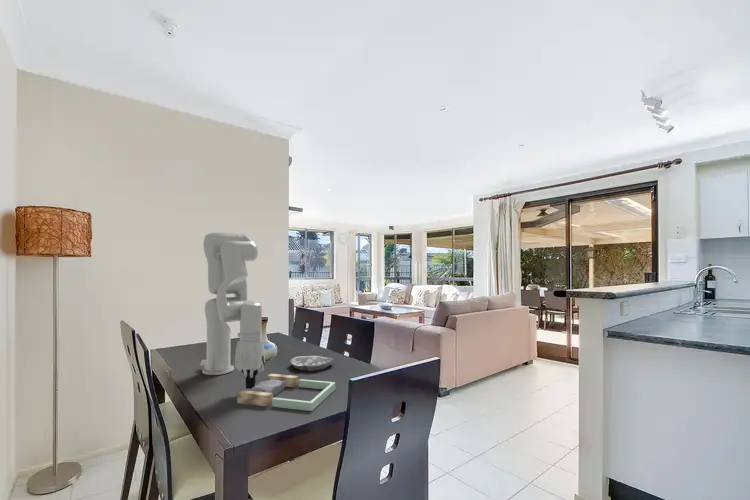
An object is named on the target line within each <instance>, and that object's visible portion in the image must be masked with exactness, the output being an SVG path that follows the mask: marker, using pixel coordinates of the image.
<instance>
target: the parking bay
mask: <svg viewBox="0 0 750 500" xmlns="http://www.w3.org/2000/svg"><path fill="white" fill-rule="evenodd" d="M298 387H299V388H305V389H308V388H309V389H315V390H316V389H317V390H321V391H320V392H319V393H318V394H317V395H316V396H315V397H313V399H311V400H309V401H308V400H301V399H300V400H299V399H293V398H292V399H291V398H284V397H283V398H282V397H273V399H272V405H271V407H273V408H282V409H290V410H299V411H300V410H301V411H307V412H312V411H315V409H316V408H317V407H318V406H319V405H320V404H321V403H323V402H324V400H325V399H327V398H328V396H330V395H331V394H332V393H334V391H335V390H336V382H335V381H327V380H326V381H325V380H314V379H313V380H312V379H304V378H300V379H299V385H298Z"/></svg>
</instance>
